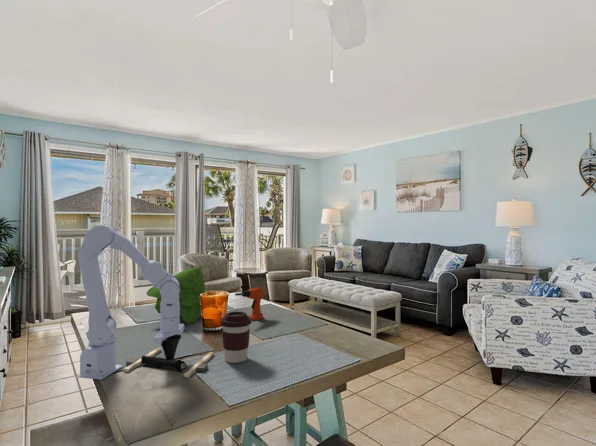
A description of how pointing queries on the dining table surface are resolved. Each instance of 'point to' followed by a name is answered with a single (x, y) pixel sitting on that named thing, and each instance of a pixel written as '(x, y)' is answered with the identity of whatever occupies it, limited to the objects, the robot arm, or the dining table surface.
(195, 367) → the joist track
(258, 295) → the toy drill
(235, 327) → the coffee cup
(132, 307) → the dining table surface
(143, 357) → the black flashlight
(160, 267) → the robot arm
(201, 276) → the decorative tree
